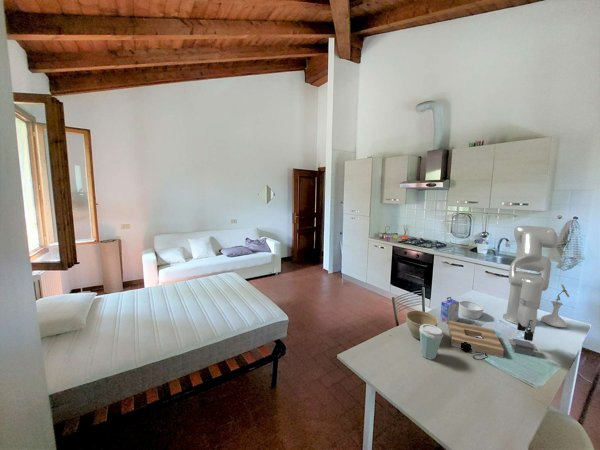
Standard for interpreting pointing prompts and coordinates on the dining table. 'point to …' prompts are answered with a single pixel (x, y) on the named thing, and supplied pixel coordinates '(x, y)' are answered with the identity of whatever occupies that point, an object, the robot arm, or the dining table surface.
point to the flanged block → (522, 347)
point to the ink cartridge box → (449, 310)
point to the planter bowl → (419, 321)
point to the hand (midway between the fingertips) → (524, 335)
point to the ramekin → (470, 309)
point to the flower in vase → (555, 313)
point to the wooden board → (484, 345)
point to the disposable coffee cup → (430, 340)
